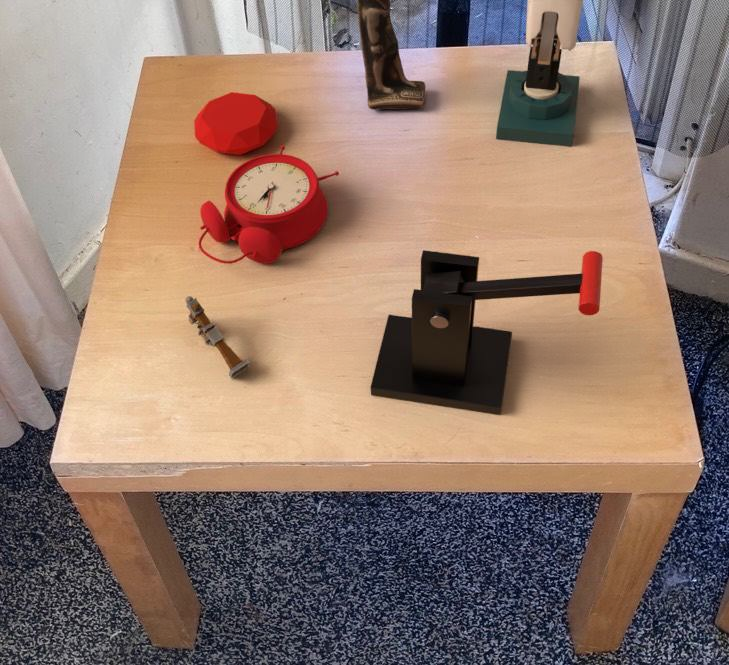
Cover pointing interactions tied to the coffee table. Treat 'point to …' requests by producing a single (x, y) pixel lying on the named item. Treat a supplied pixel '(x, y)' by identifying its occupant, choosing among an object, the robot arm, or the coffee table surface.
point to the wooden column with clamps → (214, 337)
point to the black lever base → (443, 347)
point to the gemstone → (235, 123)
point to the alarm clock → (268, 207)
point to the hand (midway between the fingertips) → (540, 84)
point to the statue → (385, 60)
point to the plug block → (538, 112)
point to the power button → (541, 92)
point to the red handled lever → (528, 285)
